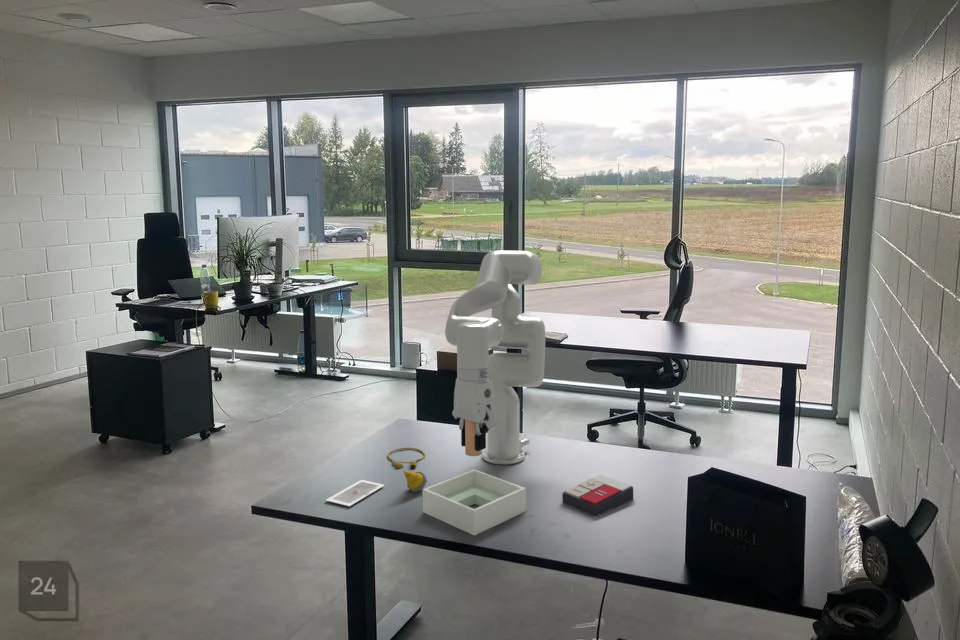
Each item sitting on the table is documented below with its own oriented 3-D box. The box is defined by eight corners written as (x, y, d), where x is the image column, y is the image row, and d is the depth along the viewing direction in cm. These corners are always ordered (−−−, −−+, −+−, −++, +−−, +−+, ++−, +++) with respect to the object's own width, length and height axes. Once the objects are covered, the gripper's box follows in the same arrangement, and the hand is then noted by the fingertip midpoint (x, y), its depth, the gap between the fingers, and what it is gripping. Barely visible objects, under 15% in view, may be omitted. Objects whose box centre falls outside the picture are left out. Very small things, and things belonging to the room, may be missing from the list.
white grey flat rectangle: (325, 504, 188) (325, 496, 188) (361, 483, 201) (361, 475, 201) (349, 510, 184) (349, 502, 184) (384, 488, 197) (384, 481, 197)
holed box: (474, 490, 194) (474, 469, 193) (526, 511, 182) (526, 488, 181) (423, 512, 182) (422, 489, 181) (474, 535, 169) (474, 511, 168)
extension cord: (374, 468, 212) (374, 461, 212) (397, 449, 227) (397, 443, 227) (413, 472, 209) (413, 465, 208) (433, 453, 223) (433, 447, 223)
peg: (473, 449, 182) (473, 414, 180) (485, 453, 179) (485, 417, 177) (462, 453, 179) (461, 417, 177) (473, 457, 176) (473, 421, 175)
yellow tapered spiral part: (432, 492, 195) (413, 476, 188) (415, 499, 196) (395, 483, 189) (430, 474, 198) (411, 458, 191) (413, 481, 200) (394, 465, 193)
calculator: (561, 490, 186) (600, 471, 196) (561, 506, 187) (600, 487, 197) (595, 503, 178) (634, 483, 188) (595, 520, 179) (634, 499, 188)
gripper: (509, 377, 172) (509, 451, 175) (460, 365, 184) (460, 435, 187) (487, 382, 167) (487, 459, 170) (437, 371, 179) (439, 443, 182)
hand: (473, 446), depth 179 cm, fingers closed on peg, 4 cm apart
